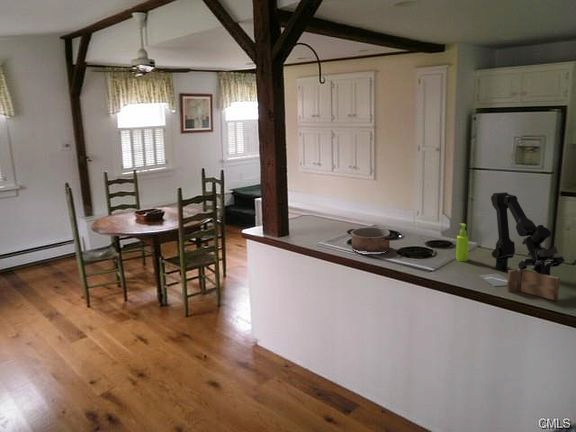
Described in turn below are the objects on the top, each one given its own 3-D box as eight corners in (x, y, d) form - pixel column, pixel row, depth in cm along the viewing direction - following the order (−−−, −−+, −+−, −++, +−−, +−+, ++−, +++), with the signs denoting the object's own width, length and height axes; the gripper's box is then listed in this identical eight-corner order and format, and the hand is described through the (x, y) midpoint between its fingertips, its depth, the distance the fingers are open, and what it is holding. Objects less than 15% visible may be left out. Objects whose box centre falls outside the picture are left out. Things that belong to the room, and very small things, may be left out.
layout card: (478, 275, 225) (478, 275, 225) (497, 274, 226) (497, 273, 226) (494, 286, 212) (494, 285, 211) (514, 285, 213) (514, 284, 212)
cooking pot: (401, 248, 273) (402, 231, 270) (385, 258, 255) (385, 240, 253) (357, 241, 290) (357, 224, 288) (339, 250, 273) (339, 233, 271)
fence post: (508, 292, 205) (510, 270, 202) (506, 290, 207) (507, 268, 204) (521, 291, 206) (523, 269, 203) (519, 289, 207) (521, 267, 205)
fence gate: (520, 291, 205) (522, 269, 202) (522, 290, 206) (524, 268, 203) (556, 301, 193) (559, 278, 191) (558, 300, 194) (560, 277, 192)
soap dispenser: (463, 256, 253) (465, 222, 248) (469, 261, 246) (471, 225, 241) (453, 257, 253) (455, 222, 248) (458, 261, 246) (460, 226, 241)
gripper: (524, 241, 197) (538, 274, 189) (564, 238, 199) (579, 271, 191) (512, 253, 207) (525, 285, 199) (550, 250, 209) (564, 281, 201)
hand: (548, 280), depth 197 cm, fingers closed
